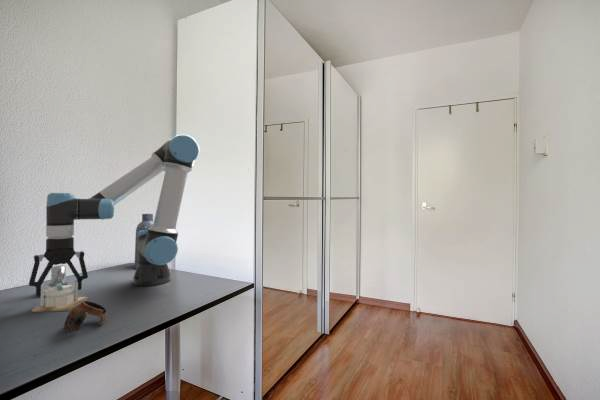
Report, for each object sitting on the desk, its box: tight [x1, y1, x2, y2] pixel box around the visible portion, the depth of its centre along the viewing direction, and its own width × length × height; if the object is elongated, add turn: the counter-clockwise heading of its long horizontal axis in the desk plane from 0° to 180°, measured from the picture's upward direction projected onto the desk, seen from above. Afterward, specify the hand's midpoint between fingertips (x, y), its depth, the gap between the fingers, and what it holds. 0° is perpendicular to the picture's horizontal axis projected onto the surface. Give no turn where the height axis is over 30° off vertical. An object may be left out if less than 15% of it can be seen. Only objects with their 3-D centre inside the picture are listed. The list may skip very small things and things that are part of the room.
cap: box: [44, 283, 74, 307], centre depth 104 cm, size 8×8×6 cm
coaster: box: [31, 296, 88, 313], centre depth 105 cm, size 11×11×1 cm
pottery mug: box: [62, 300, 107, 334], centre depth 87 cm, size 12×10×8 cm
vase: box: [134, 213, 154, 270], centre depth 160 cm, size 12×12×28 cm
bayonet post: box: [44, 264, 74, 298], centre depth 118 cm, size 12×12×10 cm
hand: (59, 302), depth 104 cm, fingers open, 8 cm apart
